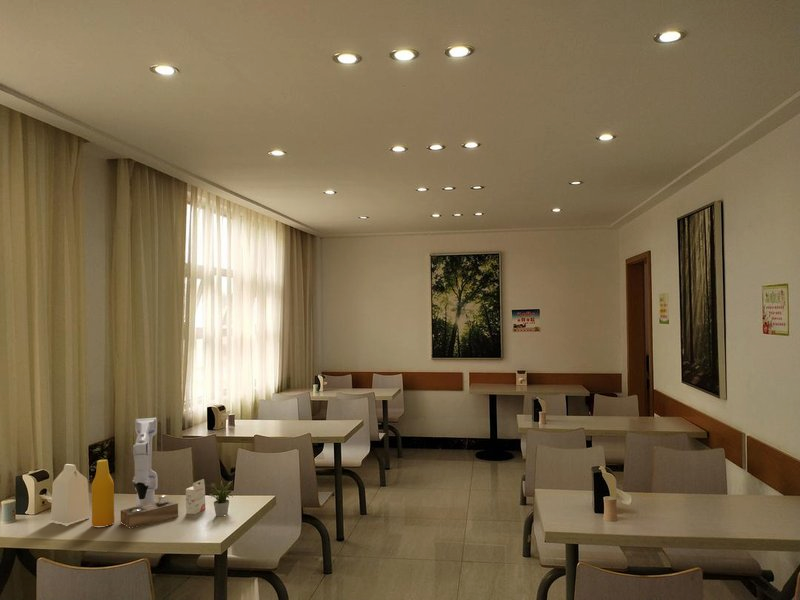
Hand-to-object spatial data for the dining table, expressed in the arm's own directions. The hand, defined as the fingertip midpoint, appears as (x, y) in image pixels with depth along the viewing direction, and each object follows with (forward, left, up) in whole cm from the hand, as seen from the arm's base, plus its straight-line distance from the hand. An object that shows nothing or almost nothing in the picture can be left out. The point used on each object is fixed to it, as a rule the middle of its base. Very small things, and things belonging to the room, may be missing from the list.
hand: (142, 498), depth 276 cm
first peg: (0, -3, -10) cm, 11 cm away
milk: (-29, -22, -11) cm, 38 cm away
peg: (0, +9, -7) cm, 12 cm away
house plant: (+20, +27, -11) cm, 35 cm away
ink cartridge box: (+5, +23, -11) cm, 26 cm away
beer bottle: (-10, -14, -11) cm, 20 cm away
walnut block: (0, +3, -10) cm, 11 cm away
